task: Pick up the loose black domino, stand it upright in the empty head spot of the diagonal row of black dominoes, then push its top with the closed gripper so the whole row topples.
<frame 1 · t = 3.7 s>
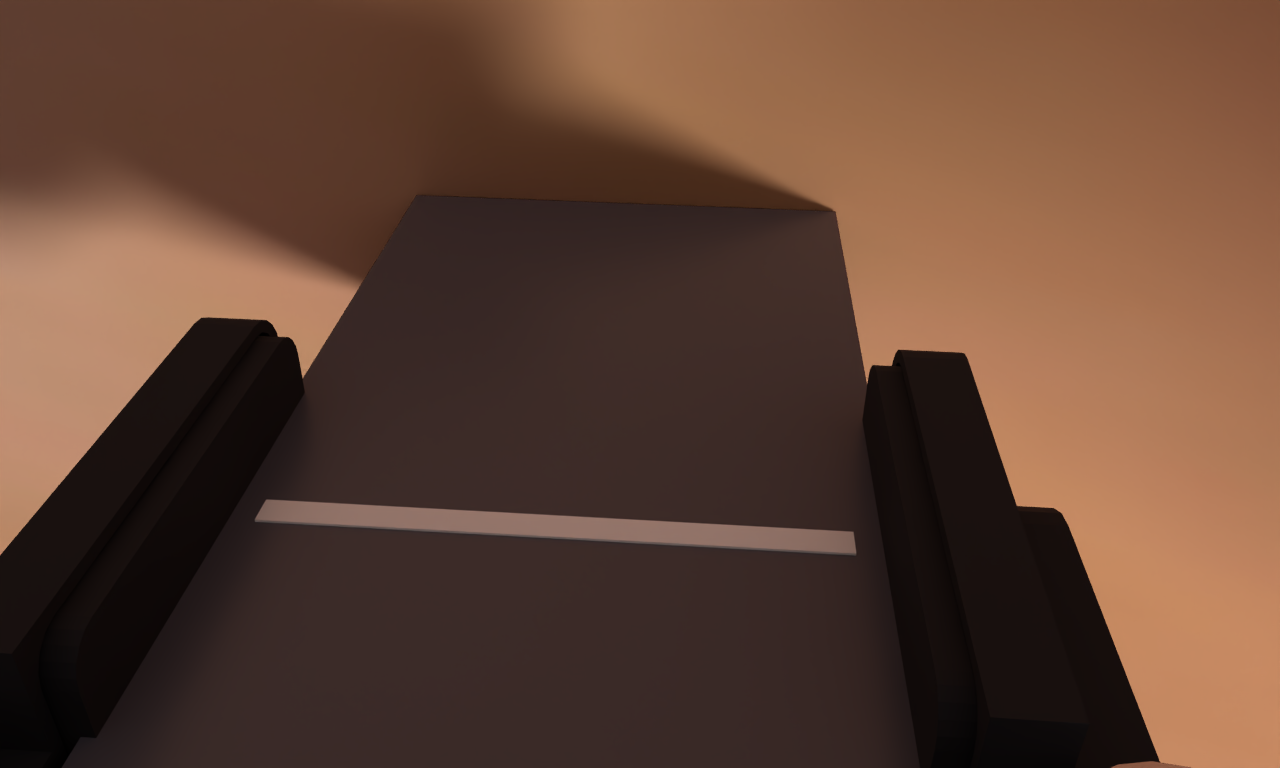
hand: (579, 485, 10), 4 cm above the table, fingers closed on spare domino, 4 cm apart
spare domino: (623, 263, 14), on the table, touching gripper
when the fingers open (5 cm above the table, at t = 10.7 s): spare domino stays where it is, on the table.
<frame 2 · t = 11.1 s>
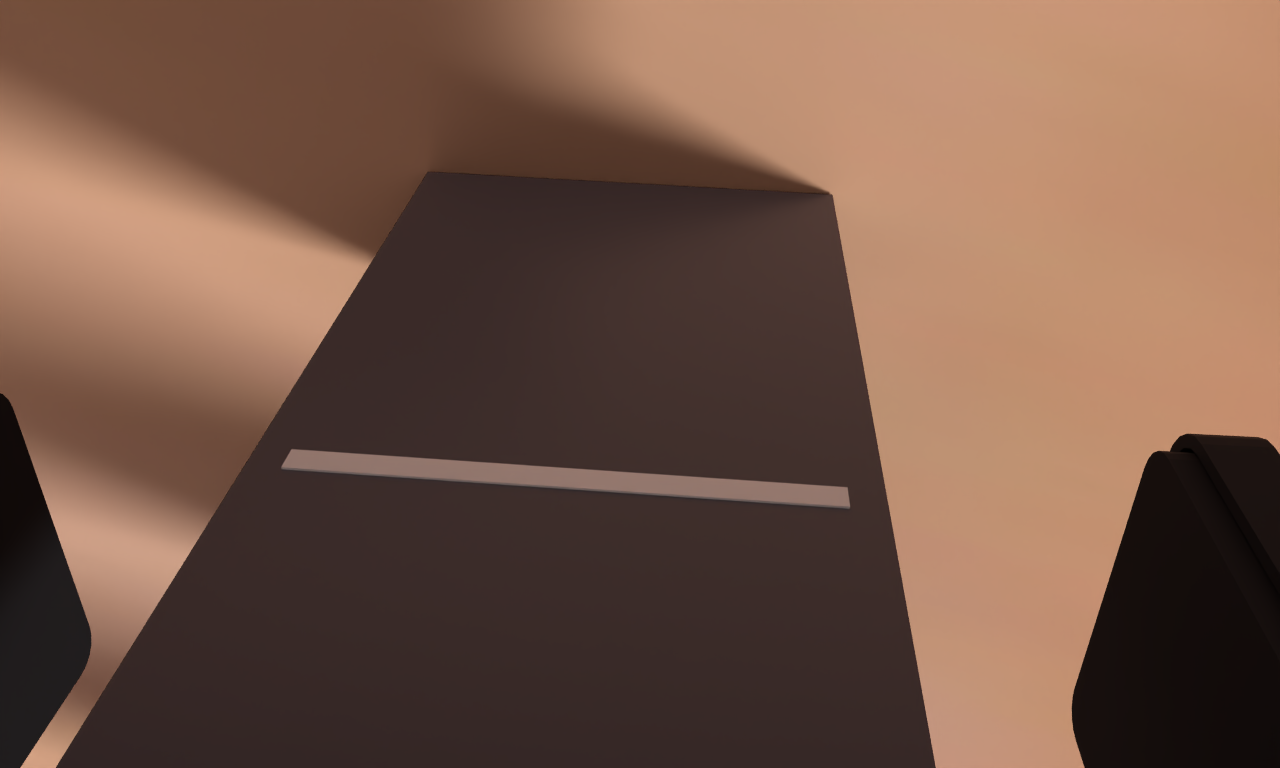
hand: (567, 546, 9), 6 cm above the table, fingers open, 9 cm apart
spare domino: (626, 242, 14), on the table
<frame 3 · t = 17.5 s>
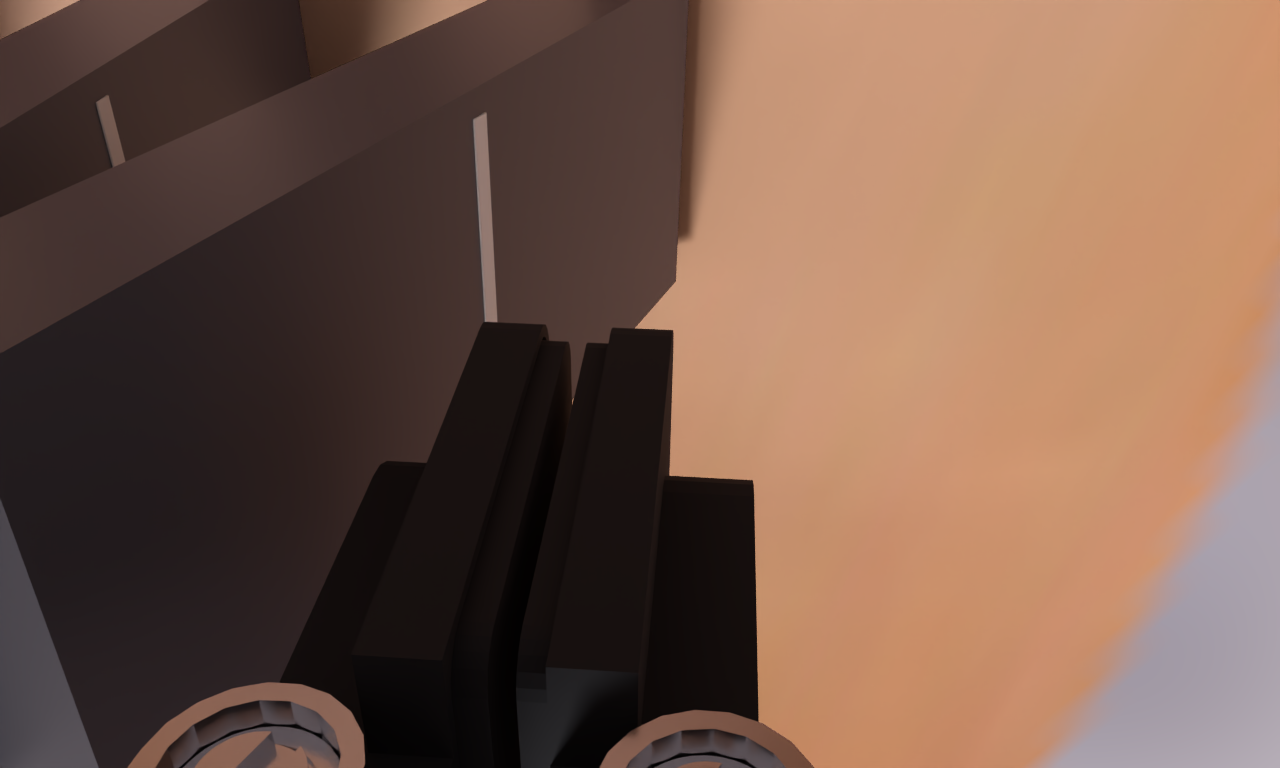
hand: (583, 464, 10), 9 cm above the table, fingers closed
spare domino: (634, 128, 17), on the table, tilted 18°
domino 2: (267, 111, 18), on the table
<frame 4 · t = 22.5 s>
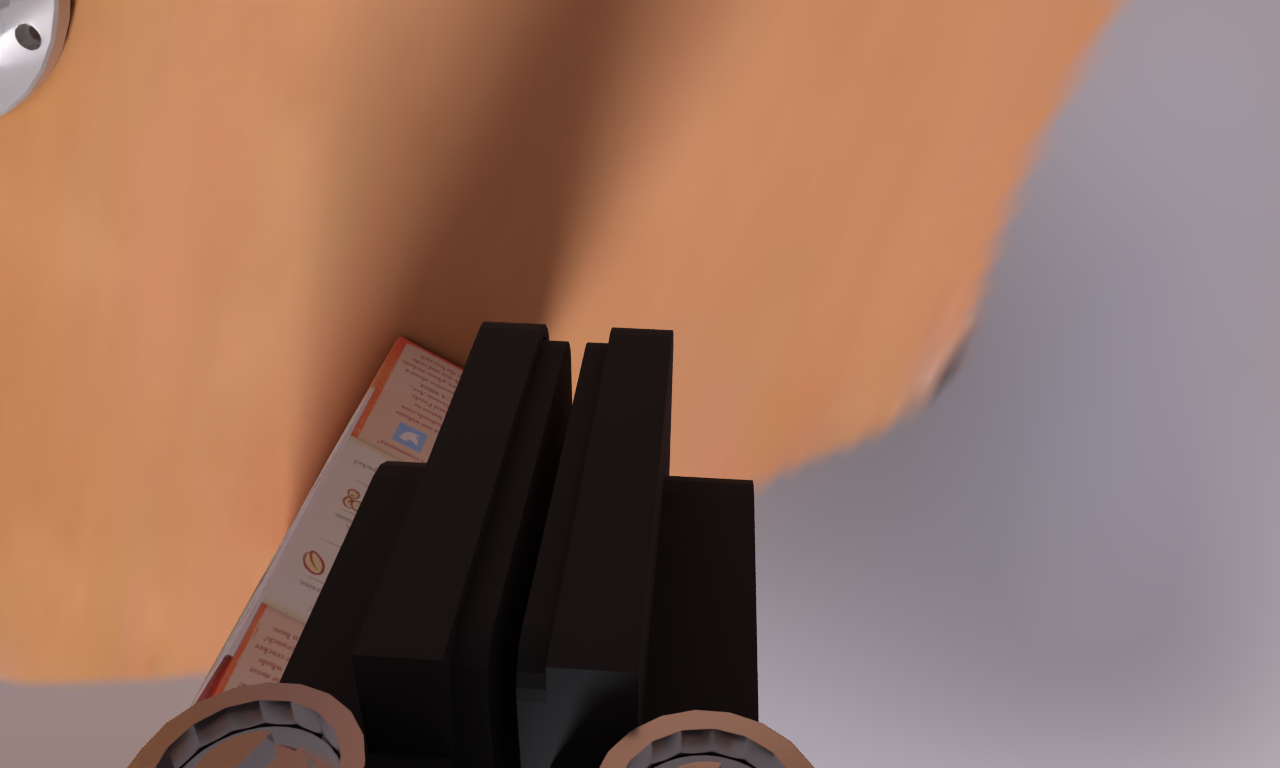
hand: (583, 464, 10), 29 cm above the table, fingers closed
cracker box: (393, 475, 48), on the table
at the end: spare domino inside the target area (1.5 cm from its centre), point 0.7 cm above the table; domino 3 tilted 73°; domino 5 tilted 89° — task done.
